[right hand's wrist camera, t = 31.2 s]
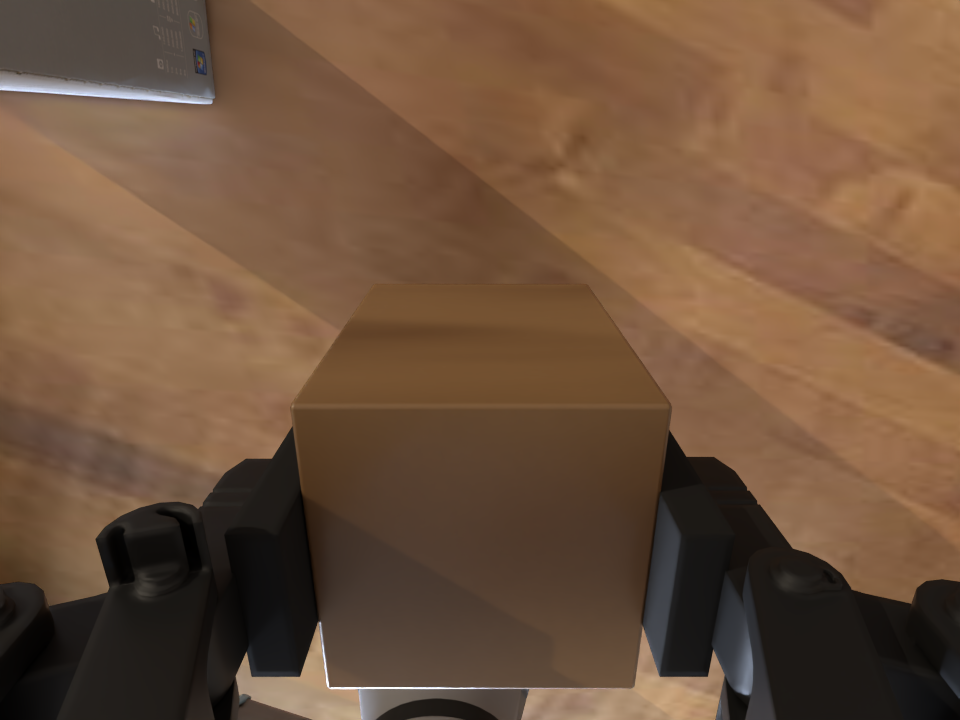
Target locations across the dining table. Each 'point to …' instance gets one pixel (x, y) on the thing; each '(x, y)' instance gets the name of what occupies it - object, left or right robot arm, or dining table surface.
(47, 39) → the hard drive box
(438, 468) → the block
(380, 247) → the dining table surface
